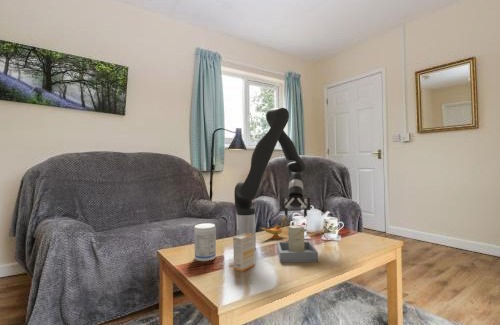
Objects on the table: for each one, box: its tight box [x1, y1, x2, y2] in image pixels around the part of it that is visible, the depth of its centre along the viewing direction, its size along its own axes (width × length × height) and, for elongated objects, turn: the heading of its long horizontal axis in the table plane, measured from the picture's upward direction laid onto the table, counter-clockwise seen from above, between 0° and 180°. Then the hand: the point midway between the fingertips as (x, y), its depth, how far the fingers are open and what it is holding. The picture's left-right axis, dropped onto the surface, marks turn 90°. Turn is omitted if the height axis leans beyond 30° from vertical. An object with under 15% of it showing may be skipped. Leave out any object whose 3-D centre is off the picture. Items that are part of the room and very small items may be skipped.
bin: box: [276, 240, 319, 263], centre depth 122 cm, size 16×16×4 cm
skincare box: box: [287, 224, 305, 252], centre depth 123 cm, size 6×4×12 cm
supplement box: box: [232, 233, 256, 272], centre depth 110 cm, size 8×5×13 cm, turn 141°
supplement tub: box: [193, 222, 217, 262], centre depth 121 cm, size 10×10×15 cm
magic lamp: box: [258, 216, 287, 239], centre depth 153 cm, size 7×18×11 cm, turn 117°
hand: (295, 216), depth 131 cm, fingers open, 8 cm apart
